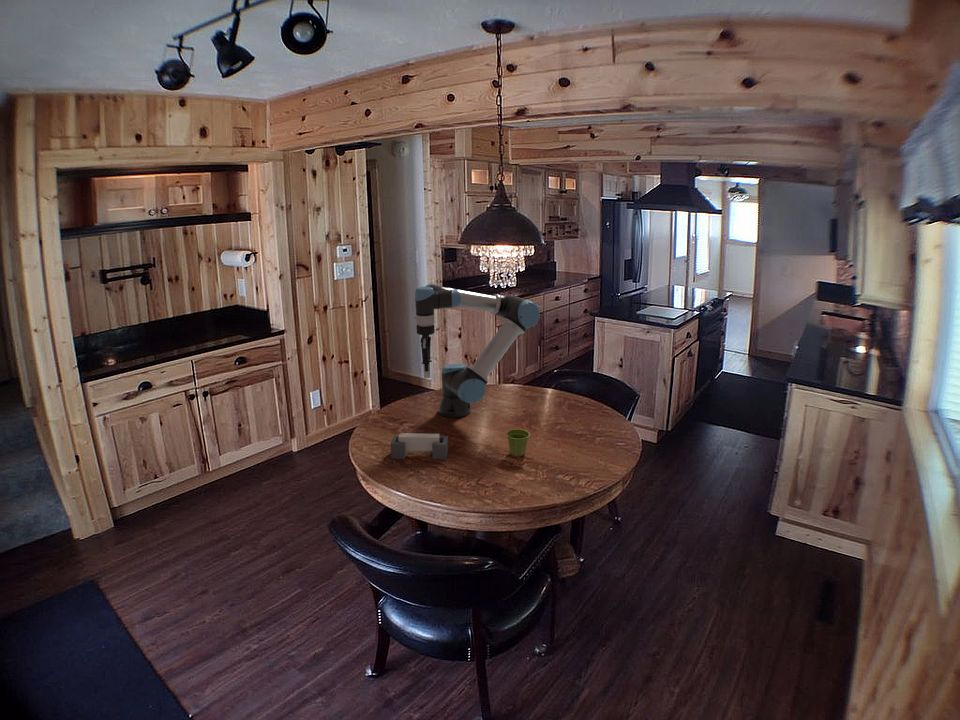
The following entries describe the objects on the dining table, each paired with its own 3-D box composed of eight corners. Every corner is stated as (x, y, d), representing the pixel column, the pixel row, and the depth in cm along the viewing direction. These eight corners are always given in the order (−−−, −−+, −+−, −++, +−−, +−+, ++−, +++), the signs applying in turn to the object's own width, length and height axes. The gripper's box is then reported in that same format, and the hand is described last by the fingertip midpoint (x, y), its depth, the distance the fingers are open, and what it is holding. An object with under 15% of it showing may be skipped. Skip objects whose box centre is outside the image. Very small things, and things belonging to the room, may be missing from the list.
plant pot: (529, 448, 244) (529, 429, 241) (529, 459, 235) (529, 439, 232) (506, 447, 244) (506, 428, 242) (505, 458, 235) (506, 438, 233)
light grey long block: (439, 447, 239) (439, 433, 238) (438, 451, 236) (438, 437, 234) (400, 446, 240) (399, 433, 238) (398, 450, 237) (398, 436, 235)
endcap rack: (448, 450, 242) (448, 436, 240) (446, 459, 235) (446, 444, 233) (394, 449, 243) (394, 435, 241) (391, 458, 236) (390, 443, 234)
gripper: (418, 320, 254) (420, 372, 261) (414, 328, 242) (416, 382, 249) (435, 320, 254) (437, 372, 261) (432, 328, 241) (434, 382, 249)
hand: (427, 377), depth 255 cm, fingers closed
